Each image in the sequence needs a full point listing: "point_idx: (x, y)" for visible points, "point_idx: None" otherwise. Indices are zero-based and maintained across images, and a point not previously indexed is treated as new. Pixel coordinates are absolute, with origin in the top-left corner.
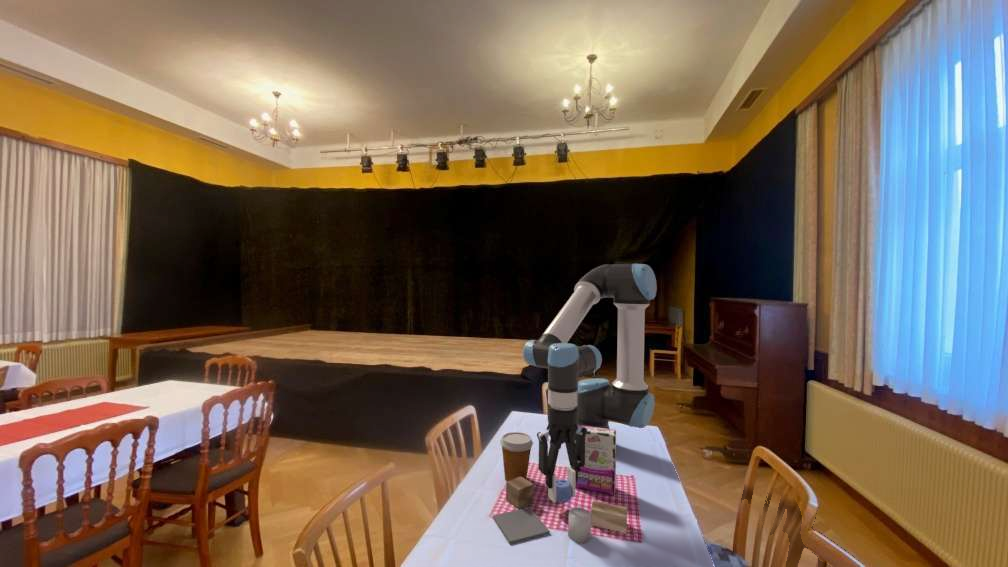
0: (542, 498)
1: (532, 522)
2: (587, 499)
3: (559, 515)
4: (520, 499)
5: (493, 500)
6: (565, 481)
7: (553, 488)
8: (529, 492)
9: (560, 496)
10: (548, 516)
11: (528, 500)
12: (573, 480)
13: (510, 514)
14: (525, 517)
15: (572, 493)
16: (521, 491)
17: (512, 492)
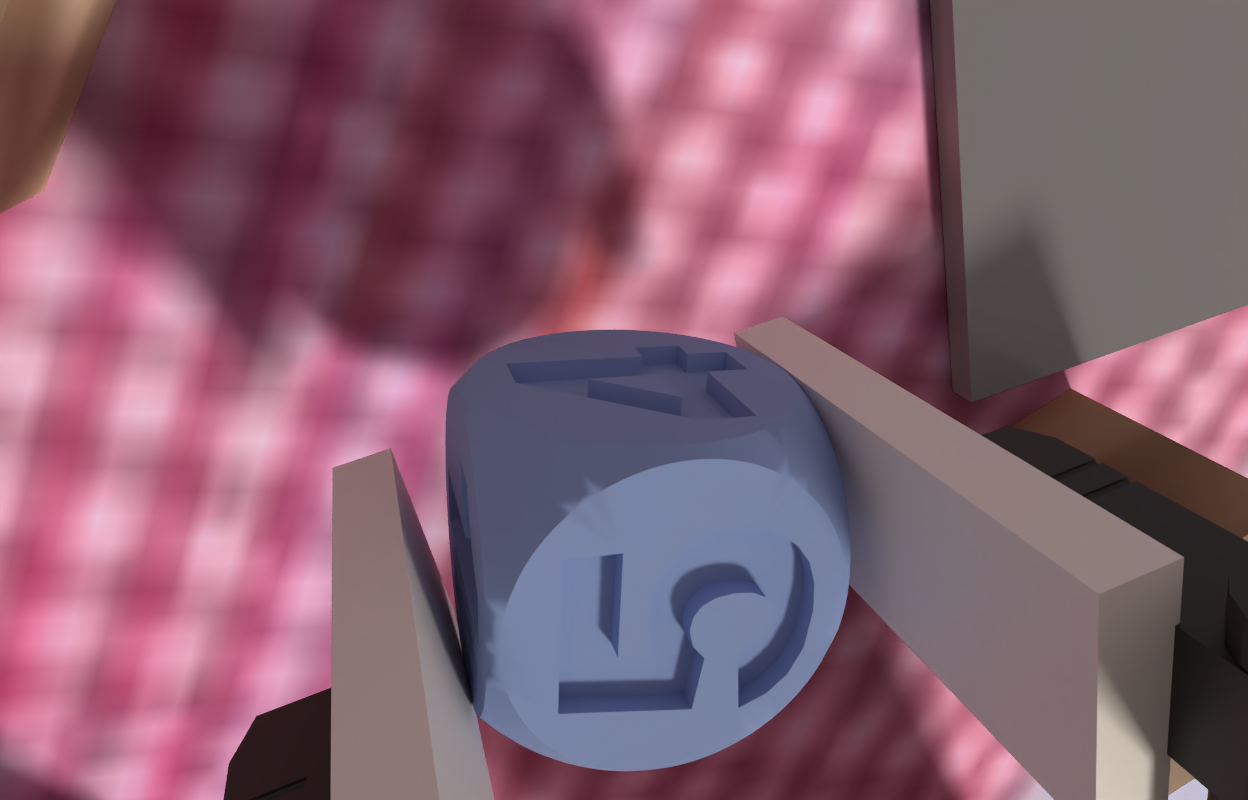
0: None
1: (1075, 55)
2: (49, 634)
3: (625, 243)
4: (1136, 453)
5: None
6: (563, 701)
7: (933, 418)
8: None
9: (688, 378)
10: (783, 231)
11: None
12: (403, 666)
13: (1230, 259)
14: (1105, 183)
15: (399, 497)
16: (1214, 514)
17: None
